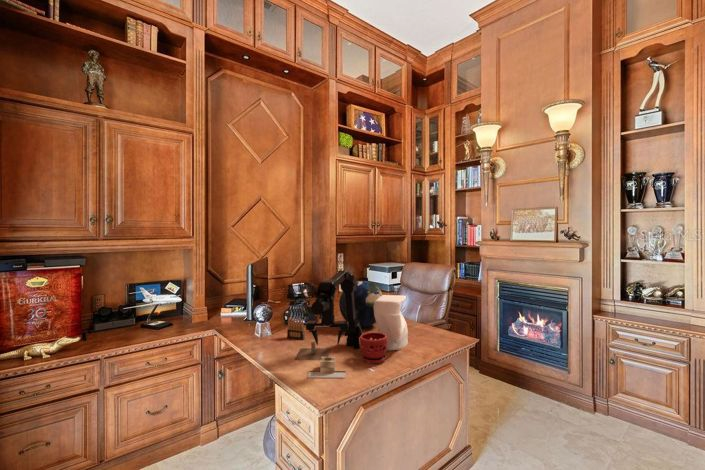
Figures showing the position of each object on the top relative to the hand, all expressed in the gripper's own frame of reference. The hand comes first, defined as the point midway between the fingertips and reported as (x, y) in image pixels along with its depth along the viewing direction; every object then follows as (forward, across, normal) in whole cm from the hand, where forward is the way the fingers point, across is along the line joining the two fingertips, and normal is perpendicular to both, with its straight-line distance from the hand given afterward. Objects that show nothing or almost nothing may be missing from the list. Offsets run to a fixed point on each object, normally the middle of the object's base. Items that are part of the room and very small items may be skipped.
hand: (327, 344), depth 147 cm
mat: (+12, 0, 0) cm, 12 cm away
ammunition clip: (+12, +23, -45) cm, 52 cm away
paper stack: (+12, -30, -33) cm, 46 cm away
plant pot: (+12, -21, -13) cm, 28 cm away
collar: (+12, 0, 0) cm, 12 cm away
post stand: (+12, +9, -18) cm, 23 cm away
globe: (+12, -16, -70) cm, 73 cm away
